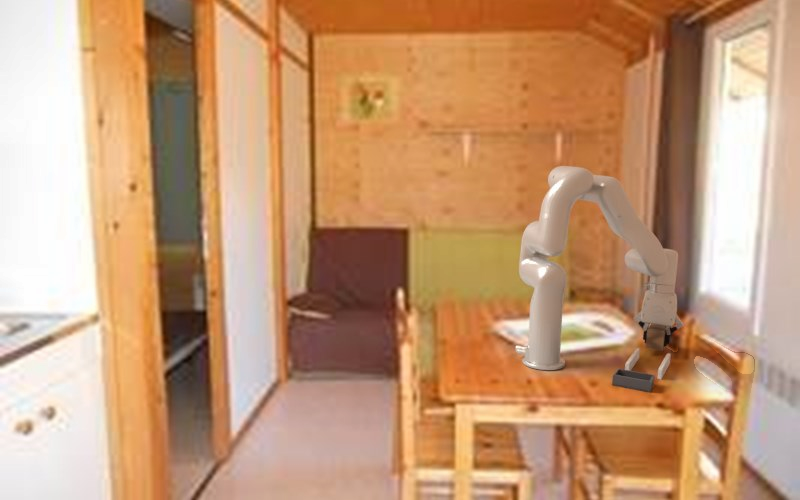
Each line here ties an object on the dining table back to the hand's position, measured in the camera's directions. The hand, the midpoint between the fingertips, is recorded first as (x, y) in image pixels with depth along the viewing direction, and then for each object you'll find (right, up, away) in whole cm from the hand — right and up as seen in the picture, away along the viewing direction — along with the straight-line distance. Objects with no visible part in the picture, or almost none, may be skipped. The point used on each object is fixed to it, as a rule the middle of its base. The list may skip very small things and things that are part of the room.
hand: (655, 343), depth 209 cm
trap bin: (-17, -8, -27) cm, 33 cm away
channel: (-8, -5, -13) cm, 16 cm away
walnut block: (+1, -1, +1) cm, 2 cm away
